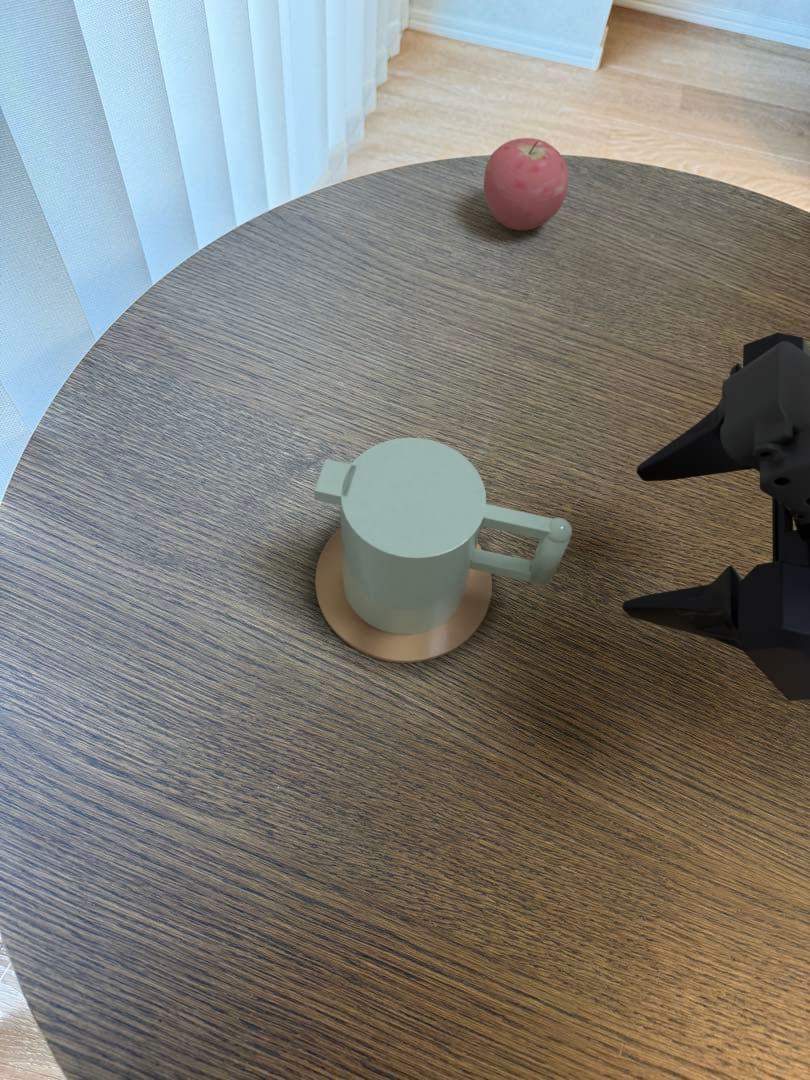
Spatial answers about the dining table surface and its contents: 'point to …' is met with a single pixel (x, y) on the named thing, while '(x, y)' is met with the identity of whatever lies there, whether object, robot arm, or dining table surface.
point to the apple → (525, 183)
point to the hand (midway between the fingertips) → (633, 538)
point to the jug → (424, 533)
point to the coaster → (389, 643)
